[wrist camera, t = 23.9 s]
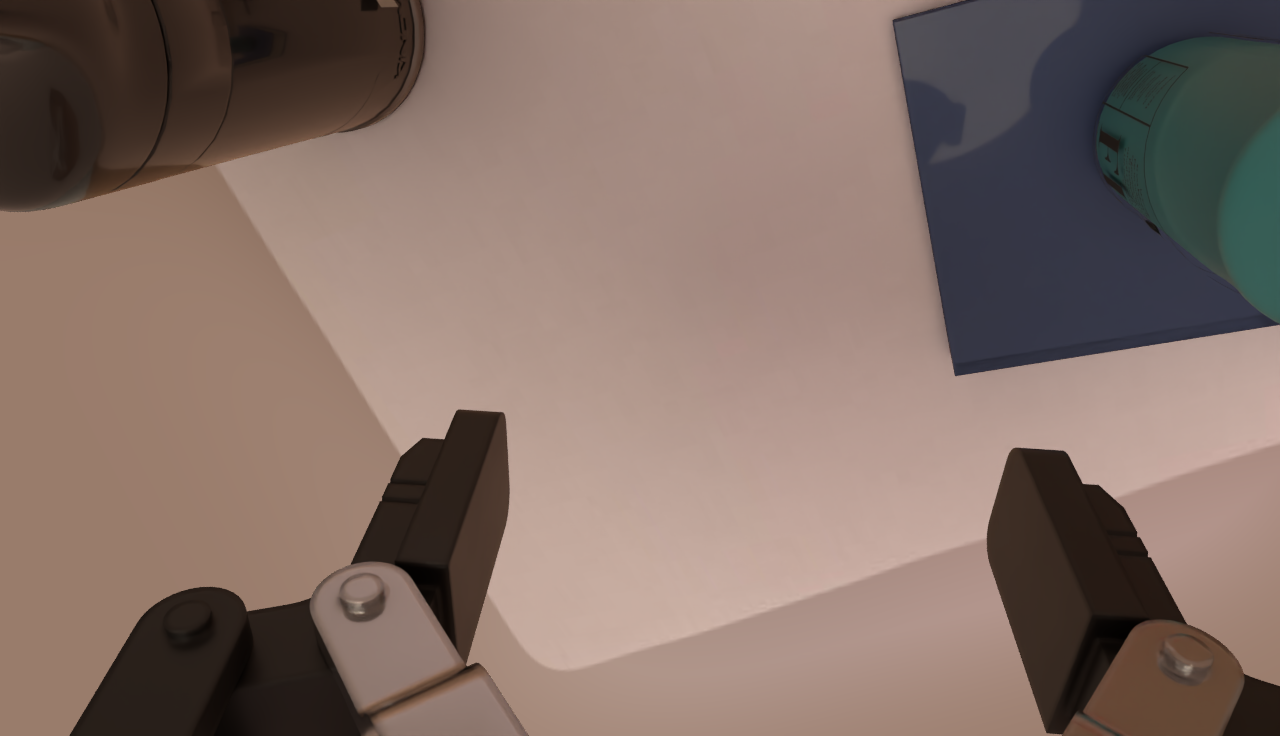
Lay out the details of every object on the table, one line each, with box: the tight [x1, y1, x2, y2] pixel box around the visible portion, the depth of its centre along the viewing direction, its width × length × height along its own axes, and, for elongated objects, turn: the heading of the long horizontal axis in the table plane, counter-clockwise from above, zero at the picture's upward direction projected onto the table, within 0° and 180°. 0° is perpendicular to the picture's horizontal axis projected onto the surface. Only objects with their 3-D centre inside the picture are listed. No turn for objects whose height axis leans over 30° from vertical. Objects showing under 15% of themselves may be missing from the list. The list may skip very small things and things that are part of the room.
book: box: [893, 0, 1280, 376], centre depth 37 cm, size 21×14×3 cm
